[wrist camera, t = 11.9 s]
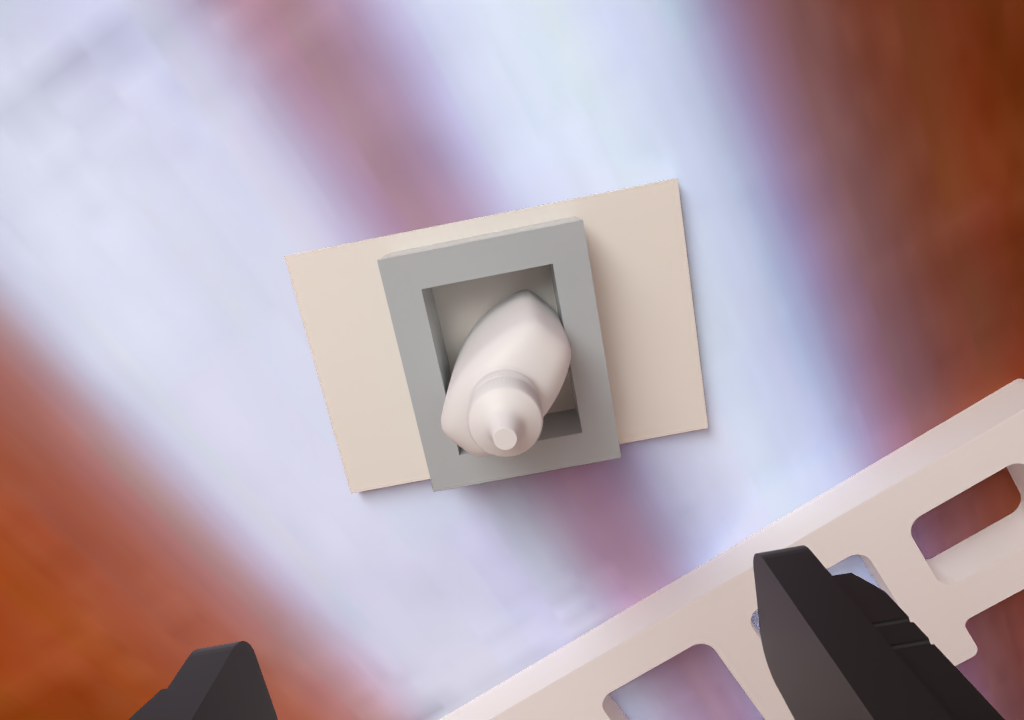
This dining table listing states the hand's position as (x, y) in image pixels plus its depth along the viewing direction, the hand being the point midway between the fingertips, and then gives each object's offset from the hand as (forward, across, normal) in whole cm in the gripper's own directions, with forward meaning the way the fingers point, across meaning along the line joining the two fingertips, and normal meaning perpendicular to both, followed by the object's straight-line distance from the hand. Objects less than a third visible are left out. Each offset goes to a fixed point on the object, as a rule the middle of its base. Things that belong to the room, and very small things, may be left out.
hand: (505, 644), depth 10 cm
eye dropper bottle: (+21, 0, 0) cm, 21 cm away
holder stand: (+22, 0, 0) cm, 22 cm away
